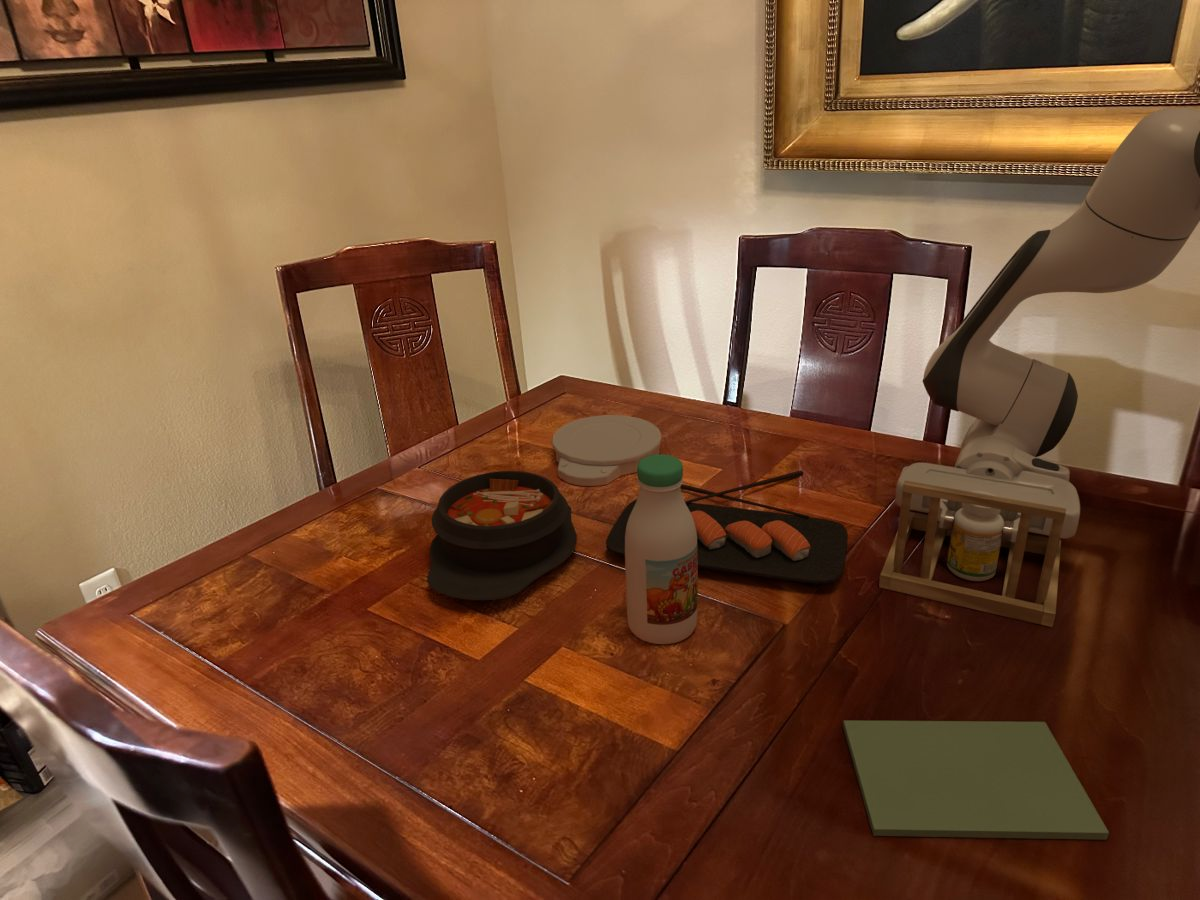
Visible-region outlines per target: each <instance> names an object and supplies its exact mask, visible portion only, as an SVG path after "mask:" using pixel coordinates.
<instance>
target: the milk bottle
mask: <svg viewBox="0 0 1200 900" xmlns="http://www.w3.org/2000/svg"><path fill="white" fill-rule="evenodd" d="M636 475H637V481H636V482H637V485H638V486H639V492H638V496H637V498H636V500H637V501H636V504H635V506H634V508H633V510H632V512H631V514H630V516H629V519H628V522H627V526H626V533H625V556H624V565H625V566H624V568H625V570H624V572H625V597H626V598H625V599H626V619H627V625H628V628H629V629H630V631H631V633H632V634H633V635H634V636H636V638H637V639H640V640H641V641H643V642H647V643H649V644H654V645H672V644H676V643H679V642H681V641H683V640H685V639H687V638H688V637H690V636H691V635H692V633H693V632H694V631H695V629H696V627H697V624H698V599H699V598H698V596H699V595H698V593H699V592H698V588H699V586H698V585H699V583H698V582H699V581H698V580H699V577H698V576H699V573H698V570H699V569H698V568H699V567H698V549H697V533H696V527H695V523H694V520H693V517H692V515H691V513H690V511H689V509H688V507H687V505H686V503H685V501H686V500H685V499H684V496H683V493H682V489H681V487H680V486H681V485H682V484H684V483H683V482H684V480H683V477H684V466H683V462H682V461H681V460H680V459H679V458H678V457H676V456H673V455H670V454H661V453H659V454H657V455H650V456H647V457H645V458H643V459H641V460H640V461H639V462H638V465H637V472H636Z"/></svg>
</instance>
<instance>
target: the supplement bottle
mask: <svg viewBox="0 0 1200 900" xmlns="http://www.w3.org/2000/svg"><path fill="white" fill-rule="evenodd" d="M970 492H974V493H980V494H985V495H991V496H996V495H994V494H992V493H988V492H984V491H970ZM997 497H998V496H997ZM962 506H963V508H961V509H959V510H958V511H957V512H956V514H955V516H954V521H953V527H952V534H951V536H950V540H949V545H948V554H947V560H946V566H947V568H948V570H949V571H950V572H951V573H952V574H953V575H955V576H956V577H958V578H960V579H963V580H966V581H968V582H985V581H988V580H990V579H992V578H993V577H994V576H995V575H996V573H997V568H998V561H999V556H1000V552H1001V551H1000V550H1001V546H1000V545H1001V539H1002V534H1003V528H1004V520H1003V518H1002V517H1001V515H1000V514H999V513H1000V511H1001V509H995V508H990V507H984V506H979V505H973V504H968V503H962Z"/></svg>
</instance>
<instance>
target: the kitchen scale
mask: <svg viewBox="0 0 1200 900" xmlns="http://www.w3.org/2000/svg"><path fill="white" fill-rule="evenodd" d="M662 441H663V436H662V432H661V430H660V428H658V427H657V426H656V425H655V424H654V423H652V422H651V421H648V420H646V419H643V418H640V417H635V416H631V415H624V414H623V415H622V414H599V415H591V416H586V417H582V418H578V419H576V420H572V421H570V422H567V423H565V424H564V425H562V426H561V427H559V428H558V429H557V430H556V431H555V433H554V434H553V435H552V437H551V443H552V445H551V446H552V449H553V450H554V451H555V460H556V462H557V463H558V466H557V477H558V478H559V479H561V480H562V481H564V482H565V483H566V484H567V483H568V484H571V485H575V486H578V487H600V486H607V485H609V484H610V483H612V482H613V481H615V480H617V479H618V478H620V477H622V476H626V475H630V474H635V473H636V474H637V465H638V462H639V461H640V460H641V459H643V458H645V457H647V456H650V455H657V454H660V446H661V444H662Z"/></svg>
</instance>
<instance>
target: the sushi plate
mask: <svg viewBox="0 0 1200 900" xmlns="http://www.w3.org/2000/svg"><path fill="white" fill-rule="evenodd" d="M803 475H804V471H802V470H796V471H793V472H789V473H785V474H781V475H778V476H774V477H770V478H766V479H763V480H760V481H755V482H752V483H748V484H745V485H742V486H738V487H734V488H729V489H726V490H723V491H719V492H715V491H711V490H709V489H708V490H707V489H703V488H700V487H695V486H692V485H687V484H684V483H682V485H681V486H680V487H681V490H684V491H689V492H693V493H697V494H702V495H703V496H700V497H696V498H691V499H688V500H684V501H685V503H686V505H687V507H688V509H689V511H690V513H691V515H692V517H693V520H694V523H695V527H696V533H697V549H698V568H700V569H706V570H713V571H720V572H725V573H726V572H727V573H728V572H729V573H734V574H740V575H748V576H755V577H761V578H769V579H775V580H782V581H790V582H796V583H797V582H798V583H806V584H815V585H817V584H819V585H824V584H826V585H827V584H832V583H834V582H836V581H838V580H839V579H840V577H841V576H842V574H843V571H844V567H845V563H846V557H847V550H848V539H849V538H848V529H847V528H846V526H845V525H844V524H842V523H840V522H837V521H834V520H831V519H827V518H821V517H813V516H810V515H807V514H805V513H800V512H795V511H792V510H787V509H783V508H779V507H777V506H776V507H775V506H772V505H767V504H764V503H759V502H755V501H751V500H747V499H742V498H738V497H735V496H730V495H727V494H731V493H735V492H739V491H743V490H747V489H751V488H756V487H761V486H764V485H769V484H773V483H777V482H778V483H779V482H782V481H786V480H789V479H793V478H796V477H802V476H803ZM714 497H715V498H721V499H725V500H729V501H733V502H737V503H738V502H739V503H742V504H747V505H750V506H755V507H758V508H764V509H768V510H772V511H765V510H756V509H748V508H741V507H733V506H732V507H731V506H724V505H715V504H707V503H698V502H699V501H703V500H706V499H710V498H714ZM636 501H637V499H634V500H633V501H630V503H628V504H627V505H626V506H625V508H624V509H623V510H622V512H621V513H620V515H619V516H618V518H617V519H616V521H615V523H614V524H613V526H612V527H611V529H610V532H609V533H608V535H607V538H606V541H605V547H606V549H607V551H608V552H611V553H612V554H615V555H617V556H622V557H625V533H626V526H627V522H628V519H629V516H630V514H631V512H632V510H633V508H634V506H635V504H636ZM773 511H776V512H773Z"/></svg>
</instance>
